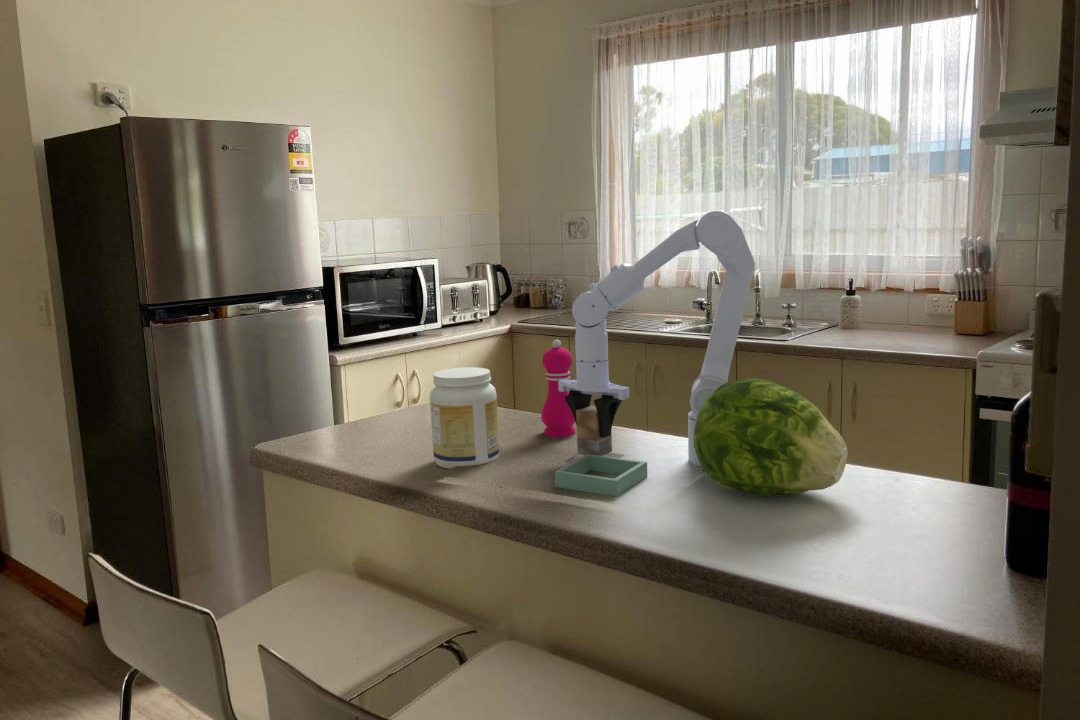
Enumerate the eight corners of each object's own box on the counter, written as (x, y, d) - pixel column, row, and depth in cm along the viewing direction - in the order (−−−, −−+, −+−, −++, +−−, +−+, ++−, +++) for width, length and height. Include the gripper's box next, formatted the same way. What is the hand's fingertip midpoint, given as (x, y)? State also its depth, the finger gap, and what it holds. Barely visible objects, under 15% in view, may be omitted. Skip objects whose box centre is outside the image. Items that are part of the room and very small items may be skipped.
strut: (611, 451, 154) (610, 408, 153) (596, 457, 151) (595, 413, 150) (592, 448, 157) (591, 405, 156) (577, 453, 154) (576, 410, 153)
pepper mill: (574, 442, 169) (571, 342, 166) (538, 441, 171) (535, 342, 167) (580, 433, 176) (577, 336, 173) (545, 432, 178) (542, 337, 174)
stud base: (624, 460, 156) (624, 443, 155) (604, 472, 149) (603, 454, 149) (586, 455, 160) (585, 438, 159) (564, 466, 153) (564, 449, 153)
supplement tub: (480, 449, 167) (475, 363, 164) (512, 462, 157) (508, 371, 154) (422, 460, 160) (417, 371, 158) (452, 475, 150) (446, 380, 147)
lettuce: (813, 530, 120) (846, 404, 118) (664, 479, 132) (691, 364, 131) (845, 514, 136) (873, 403, 134) (708, 470, 148) (733, 368, 146)
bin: (647, 482, 143) (647, 461, 142) (617, 502, 133) (616, 480, 133) (588, 473, 149) (587, 454, 148) (555, 492, 139) (554, 471, 139)
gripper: (639, 359, 150) (640, 435, 152) (574, 353, 159) (577, 424, 161) (614, 365, 144) (616, 444, 147) (549, 358, 154) (552, 432, 156)
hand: (594, 434), depth 154 cm, fingers closed on strut, 4 cm apart
